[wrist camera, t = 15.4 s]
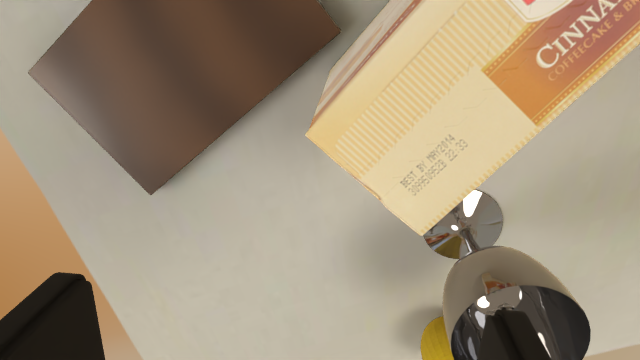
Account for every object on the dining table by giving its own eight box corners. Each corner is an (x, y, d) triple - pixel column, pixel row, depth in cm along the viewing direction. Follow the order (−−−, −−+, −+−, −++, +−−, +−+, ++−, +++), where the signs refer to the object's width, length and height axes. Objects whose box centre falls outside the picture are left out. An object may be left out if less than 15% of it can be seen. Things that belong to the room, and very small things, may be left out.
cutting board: (218, -129, 31) (212, -136, 30) (341, 30, 34) (340, 31, 33) (39, 70, 37) (27, 72, 36) (157, 189, 41) (150, 195, 39)
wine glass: (404, 204, 39) (430, 311, 25) (490, 170, 38) (570, 265, 24) (435, 273, 42) (475, 406, 28) (518, 244, 40) (606, 371, 26)
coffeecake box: (388, 128, 37) (420, 243, 19) (325, 71, 36) (295, 135, 17) (532, -17, 32) (762, -52, 14) (466, -90, 31) (625, -233, 13)
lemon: (473, 342, 44) (497, 409, 37) (418, 346, 45) (430, 412, 37) (471, 296, 42) (495, 357, 35) (413, 301, 43) (425, 362, 36)
